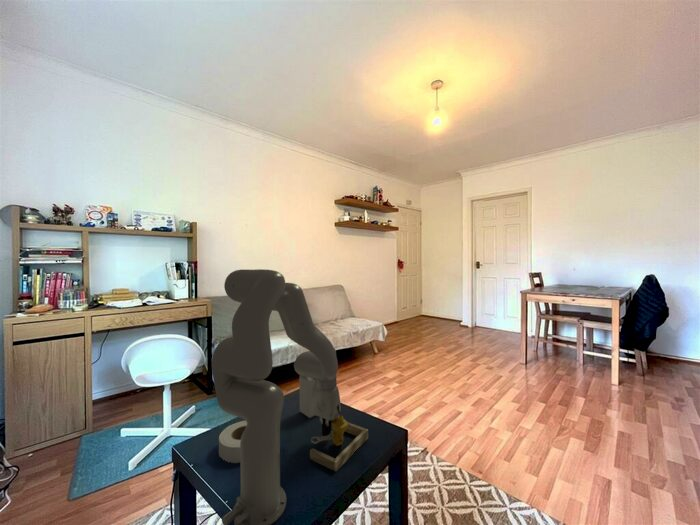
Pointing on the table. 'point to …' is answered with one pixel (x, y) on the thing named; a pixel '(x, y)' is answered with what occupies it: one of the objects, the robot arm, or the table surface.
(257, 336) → the robot arm
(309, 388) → the milk carton
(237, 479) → the table surface
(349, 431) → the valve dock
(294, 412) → the table surface
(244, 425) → the roll of tape
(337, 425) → the pressure relief valve
